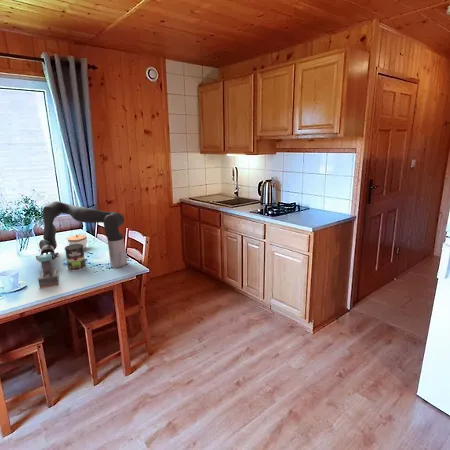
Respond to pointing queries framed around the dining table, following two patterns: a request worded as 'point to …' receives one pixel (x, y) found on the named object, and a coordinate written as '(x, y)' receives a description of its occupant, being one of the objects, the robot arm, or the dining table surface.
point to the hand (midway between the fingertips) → (47, 260)
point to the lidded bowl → (78, 240)
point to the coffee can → (75, 257)
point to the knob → (46, 263)
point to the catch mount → (48, 279)
